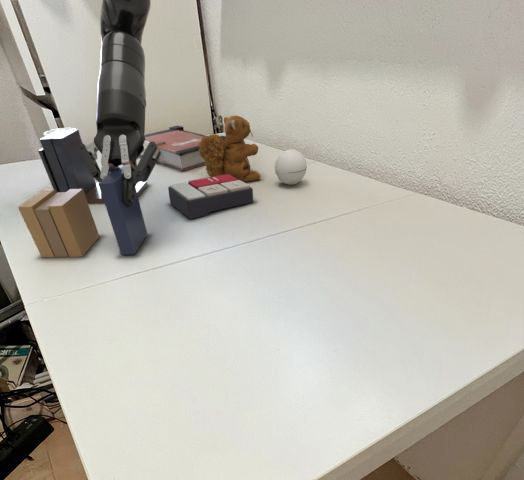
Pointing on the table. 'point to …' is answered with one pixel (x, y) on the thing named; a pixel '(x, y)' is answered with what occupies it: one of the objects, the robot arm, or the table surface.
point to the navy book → (123, 213)
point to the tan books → (60, 223)
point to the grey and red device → (209, 195)
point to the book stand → (71, 165)
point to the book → (178, 148)
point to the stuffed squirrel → (230, 151)
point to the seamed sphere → (290, 167)
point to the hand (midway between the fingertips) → (118, 204)
